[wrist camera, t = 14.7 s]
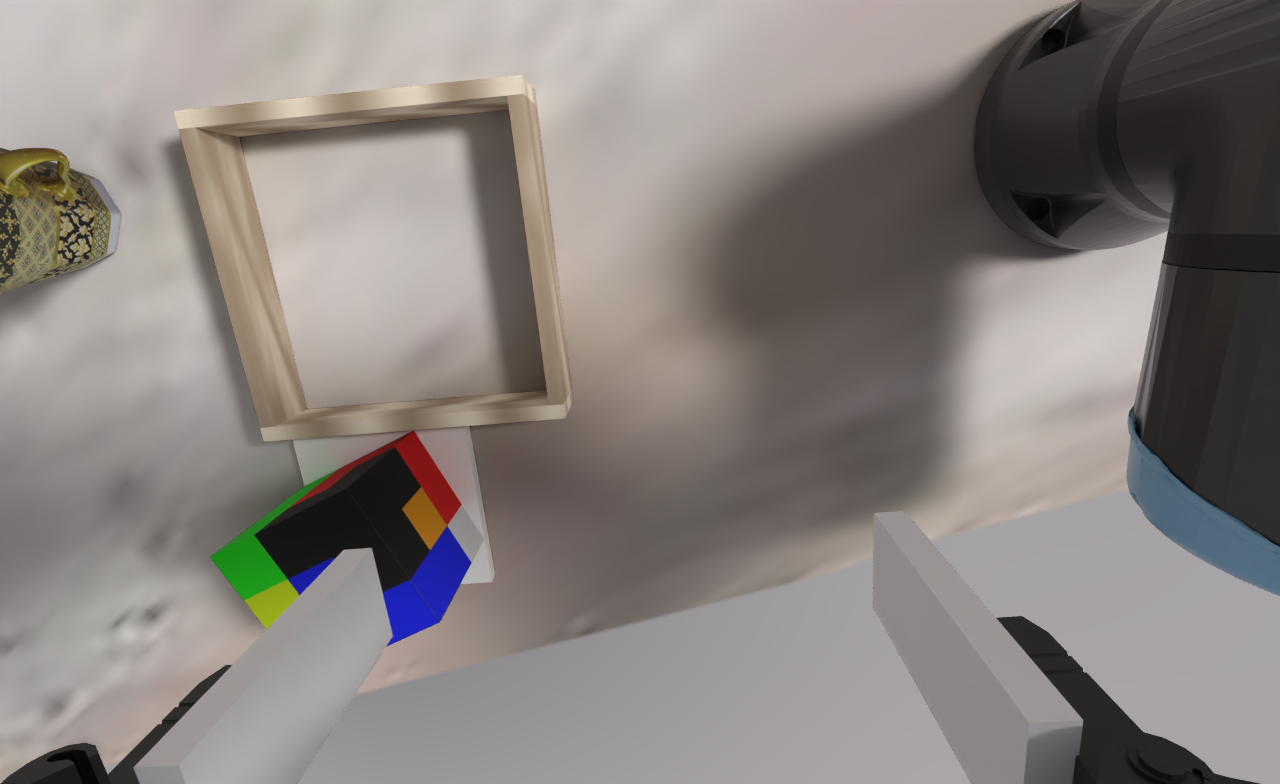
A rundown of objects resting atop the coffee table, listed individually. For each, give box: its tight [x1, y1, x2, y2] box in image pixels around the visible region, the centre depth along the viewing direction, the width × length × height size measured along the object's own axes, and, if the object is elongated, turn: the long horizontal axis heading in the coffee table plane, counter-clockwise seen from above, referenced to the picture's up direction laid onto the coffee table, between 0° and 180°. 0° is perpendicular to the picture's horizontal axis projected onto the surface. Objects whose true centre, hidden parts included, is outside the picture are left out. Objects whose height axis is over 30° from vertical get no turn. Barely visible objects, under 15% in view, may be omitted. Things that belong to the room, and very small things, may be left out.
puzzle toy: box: [210, 430, 484, 646], centre depth 41 cm, size 10×10×10 cm
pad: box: [293, 426, 495, 584], centre depth 46 cm, size 13×13×1 cm
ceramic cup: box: [0, 148, 121, 294], centre depth 36 cm, size 13×10×10 cm
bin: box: [174, 75, 573, 442], centre depth 40 cm, size 21×21×4 cm
